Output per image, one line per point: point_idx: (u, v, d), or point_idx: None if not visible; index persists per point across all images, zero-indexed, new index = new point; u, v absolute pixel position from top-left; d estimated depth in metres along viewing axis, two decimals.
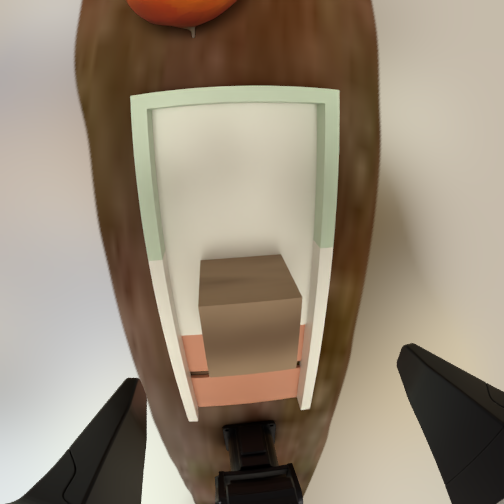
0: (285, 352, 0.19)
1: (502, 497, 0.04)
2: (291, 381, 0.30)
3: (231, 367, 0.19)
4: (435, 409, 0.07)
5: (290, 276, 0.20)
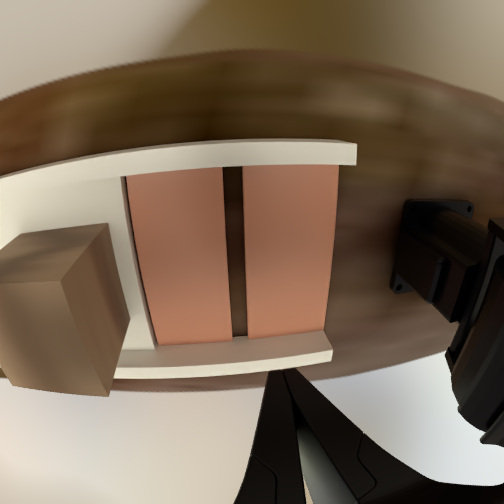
0: (32, 302, 0.09)
1: None
2: (284, 174, 0.15)
3: (79, 372, 0.10)
4: (304, 449, 0.07)
5: None
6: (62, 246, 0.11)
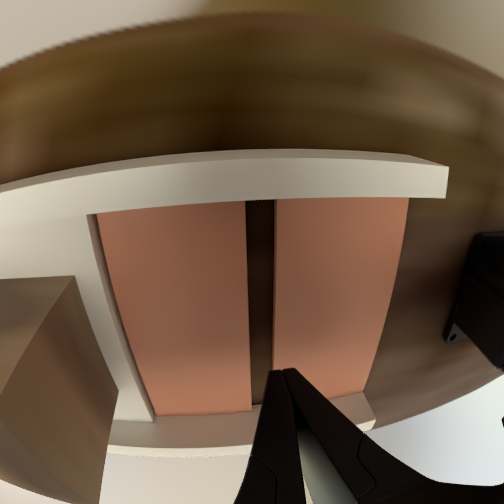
0: None
1: None
2: (337, 205, 0.10)
3: (55, 489, 0.05)
4: (304, 449, 0.07)
5: None
6: (7, 322, 0.06)
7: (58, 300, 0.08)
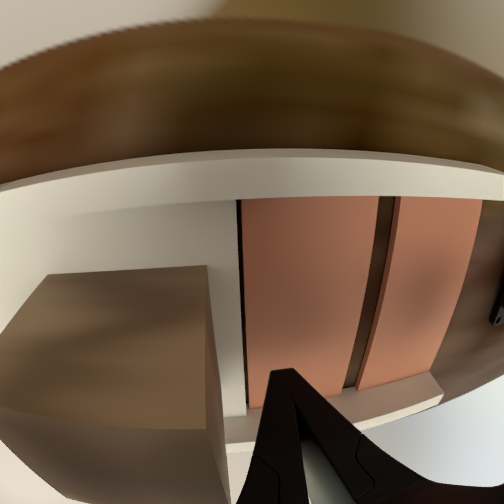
0: (125, 449, 0.04)
1: None
2: (439, 203, 0.10)
3: (197, 503, 0.06)
4: (302, 449, 0.07)
5: (3, 334, 0.06)
6: (148, 319, 0.07)
7: (206, 291, 0.08)
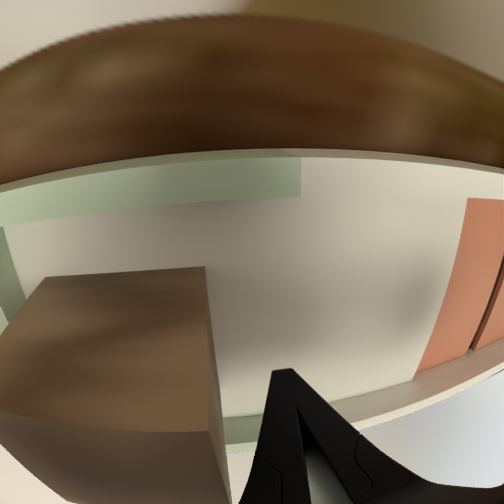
0: (127, 452, 0.04)
1: None
2: None
3: None
4: None
5: (1, 338, 0.06)
6: (148, 321, 0.07)
7: (205, 292, 0.08)
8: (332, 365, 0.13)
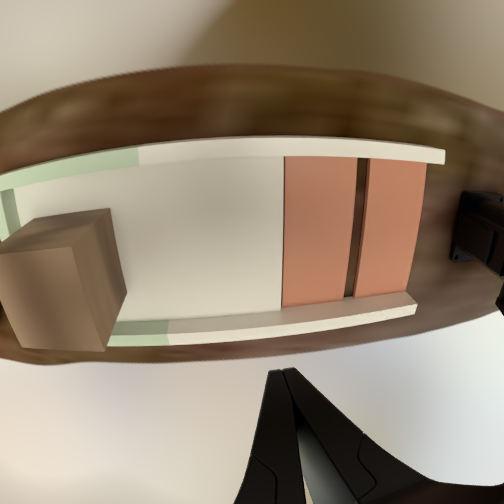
0: (46, 266, 0.12)
1: None
2: (395, 167, 0.19)
3: (82, 328, 0.13)
4: (304, 449, 0.07)
5: (7, 239, 0.13)
6: (72, 225, 0.14)
7: (102, 216, 0.16)
8: (198, 281, 0.20)
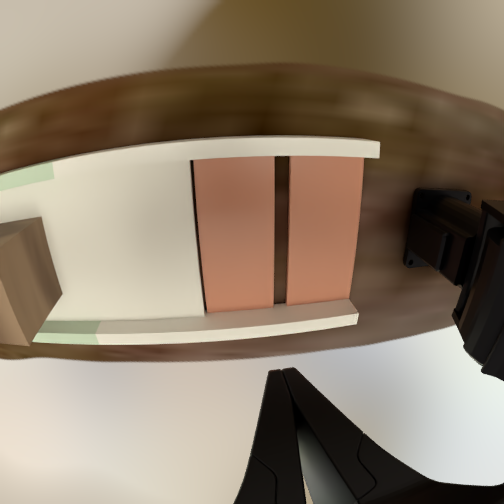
0: None
1: None
2: (322, 164, 0.18)
3: (9, 324, 0.13)
4: (304, 449, 0.07)
5: None
6: (5, 233, 0.14)
7: (31, 225, 0.15)
8: (120, 285, 0.19)
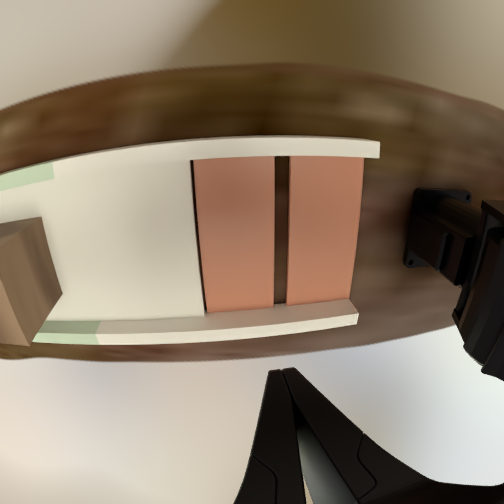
0: None
1: None
2: (322, 164, 0.18)
3: (9, 324, 0.13)
4: (304, 449, 0.07)
5: None
6: (5, 233, 0.14)
7: (31, 224, 0.15)
8: (120, 285, 0.19)
